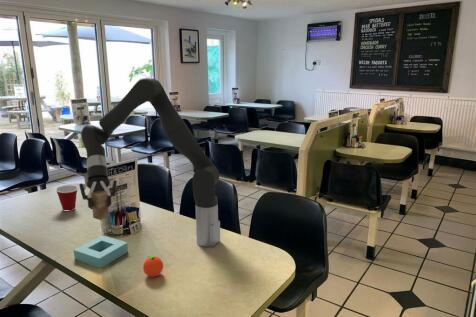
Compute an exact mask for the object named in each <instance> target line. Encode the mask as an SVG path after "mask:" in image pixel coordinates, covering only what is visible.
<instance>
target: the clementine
mask: <svg viewBox="0 0 476 317" xmlns="http://www.w3.org/2000/svg"><path fill="white" fill-rule="evenodd" d="M142 266H143V267H142V269H143V272H144V274H145V275H146V276H148V277H151V278H152V277H153V278H154V277H156V276H159V275H160V274H161V273H162V271H163V268H164V263H163V260H162V259H161V257H158V256H156V255H151V254H150V255H149V256H147V258H146V259H145V260H144V262H143V265H142Z"/></svg>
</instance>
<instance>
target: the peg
mask: <svg viewBox="0 0 476 317" xmlns="http://www.w3.org/2000/svg"><path fill="white" fill-rule="evenodd" d="M91 198H92V209H91V210H92V218H93V219H96V220H99V221H102V220H103V219H106V218H108V217H109V216H110V215H109V207H108V203H107V192H104V191H100V190H99V191H96V192H93V193H91Z"/></svg>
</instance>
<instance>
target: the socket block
mask: <svg viewBox="0 0 476 317" xmlns="http://www.w3.org/2000/svg"><path fill="white" fill-rule="evenodd" d="M128 252H129V247H128V242H126V241H123V240H120V239H117V238H112V237H110V236H106V235H100V236H97V237H96V238H94V239H92V240H91V241H88V242H87V243H84V244H82V245H80V246H78V247H76V248H75V249H73V256H74V260H76V261H79V262H80V263H81V262H82V263H84V264H87V265H89V266H93V267H96V268H98V269H102V268H103V267H106V266H107V265H109V264H110V263H111V262H114V260H116V259H118V258H120V257H122V256H123V255H124V254H126V253H128Z"/></svg>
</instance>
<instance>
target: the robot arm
mask: <svg viewBox="0 0 476 317" xmlns="http://www.w3.org/2000/svg"><path fill="white" fill-rule="evenodd" d="M147 102H149V103H150V105H151V106H152V107H153V108H154V110H155V111H156V114H157V115H158V117H159V120H160V123H161V127H162V130H163V133H164V135H165V137H166V138H167V140H168V141H169V142H170V144H171V145H172V146H173V147H174V149H175V150H177V151H178V152H179V153H180V154H182V156H184V157H185V158H186V159H187V160H188V161H189V162H190V163H191V164H192V166H193V168H194V169H195V172H194V173H193V176H192V192H193V200H194V202H195V230H196V232H195V234H196V236H195V237H196V244H197V245H198V246H200V247H206V248H208V247H211V248H214V247H215V246H216V245H217V244H219V243H220V242H221V221H220V220H219V206H218V205H219V202H218V201H219V199H218V196H217V195H216V189H215V188H216V185H217V183H218V182H219V180H220V172H219V170H218V168H217V167H216V166H215V164H214V163H213V162H212V161H211V159H210V158H209V157H208V156H207V154H206V153H205V152H204V151H203V149H202V147H201V146H200V143H199V142H197V139H196V138H195V136H194V135H193V133H192V132H191V129H190V128H189V127H188V125H187V124H186V122H185V121H184V120H183V118H182V117H181V115H180V114H179V112H178V111H177V109H176V108H175V107H174V105H173V104H172V102H171V101H170V98H169V97H168V95H167V92H166V91H165V89H164V87H163V85H162V83H161V82H160V81H159V80H157V79H155V78H153V77H152V78H151V77H144V78H140V79H139V80H137V81H136V82H135V84H134V85H133V86H132V87H131V89H130V90H129V91H128V93H127V94H126V95H125V96H123V98H122V99H121V100H120V101H119V102H118V103H117V104H116V105H115V106H114V107H113V108H111V109H110V110H109V111H108V112H107V113H105V114H104V115H103V116H101V117H100V119H99V122H98V123H99V126H100V127H101V128H100V127H98V126H95V125H93V124H86V125H85V126H84V127H82V129H81V132H80V133H81V134H80V136H81V141H82V143H83V146H84V148H85V151H86V160H87V161H86V170H87V171H86V173H87V182H86V183H84V184H83V183H79V184H78V185H79V190H80V193H81V197H82V200H83V201H85V200H87V207H88V208H89V209H90V210H92V198H91V193H93V192H96V191H99V190H100V191H104V192H107V203H108V208H110V207H111V206H112V198H114V197H117V196H116V194H117V186H118V181H117V180H115V179H114V180H113V181H112V180H111V181H110V180H109V173H108V162H107V158H106V157H107V156H106V150H105V147H104V144H106V143H107V142H108V140H109V139H110V137H111V136H112V134H113V132H115V130H117V129H118V128H119V127H120V126H121V125H123V124H124V122H125V121H126V120H128V118H129V116H130V115H131V113H132V112H133V111H135V110H136V109H137V108H138V107H140V106H141V105H144V104H145V103H147ZM109 186H111V188H112V191H111V192H110V191H109V189H108V187H109ZM87 188H88V189H89V193H88V194H87V195H86V192H85V191H86V190H87Z"/></svg>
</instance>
